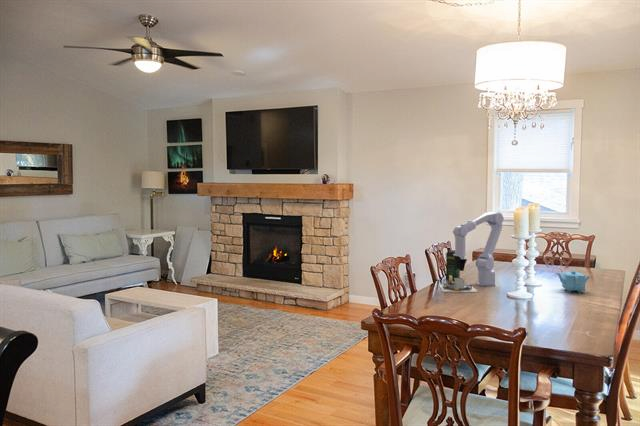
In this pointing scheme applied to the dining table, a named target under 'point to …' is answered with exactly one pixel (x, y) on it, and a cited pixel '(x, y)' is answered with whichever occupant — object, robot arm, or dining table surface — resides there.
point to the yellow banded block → (459, 282)
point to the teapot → (573, 281)
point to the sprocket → (452, 285)
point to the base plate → (457, 290)
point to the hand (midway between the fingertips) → (460, 269)
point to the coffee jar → (451, 266)
